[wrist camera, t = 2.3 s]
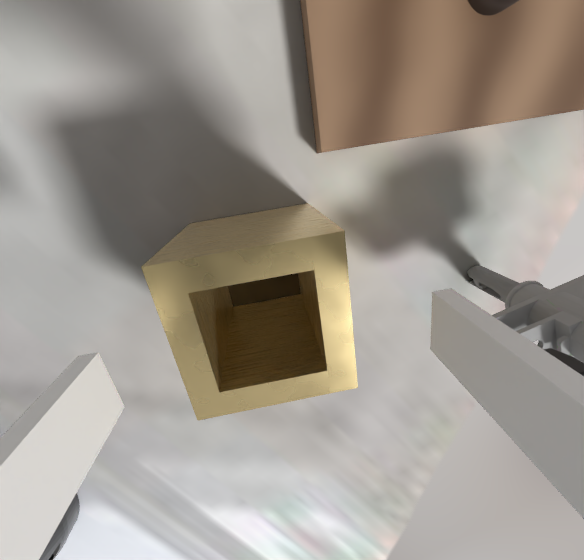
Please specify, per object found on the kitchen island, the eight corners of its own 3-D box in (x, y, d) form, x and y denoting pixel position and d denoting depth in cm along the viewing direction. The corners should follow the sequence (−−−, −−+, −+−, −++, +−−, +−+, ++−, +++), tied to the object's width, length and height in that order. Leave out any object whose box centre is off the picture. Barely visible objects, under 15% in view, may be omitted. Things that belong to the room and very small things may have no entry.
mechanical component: (411, 285, 23) (513, 366, 14) (534, 230, 23) (726, 275, 13) (420, 315, 24) (520, 408, 15) (538, 263, 24) (717, 326, 15)
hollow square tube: (219, 326, 23) (197, 420, 14) (189, 223, 20) (141, 267, 11) (321, 306, 23) (357, 387, 15) (307, 203, 20) (344, 230, 12)
